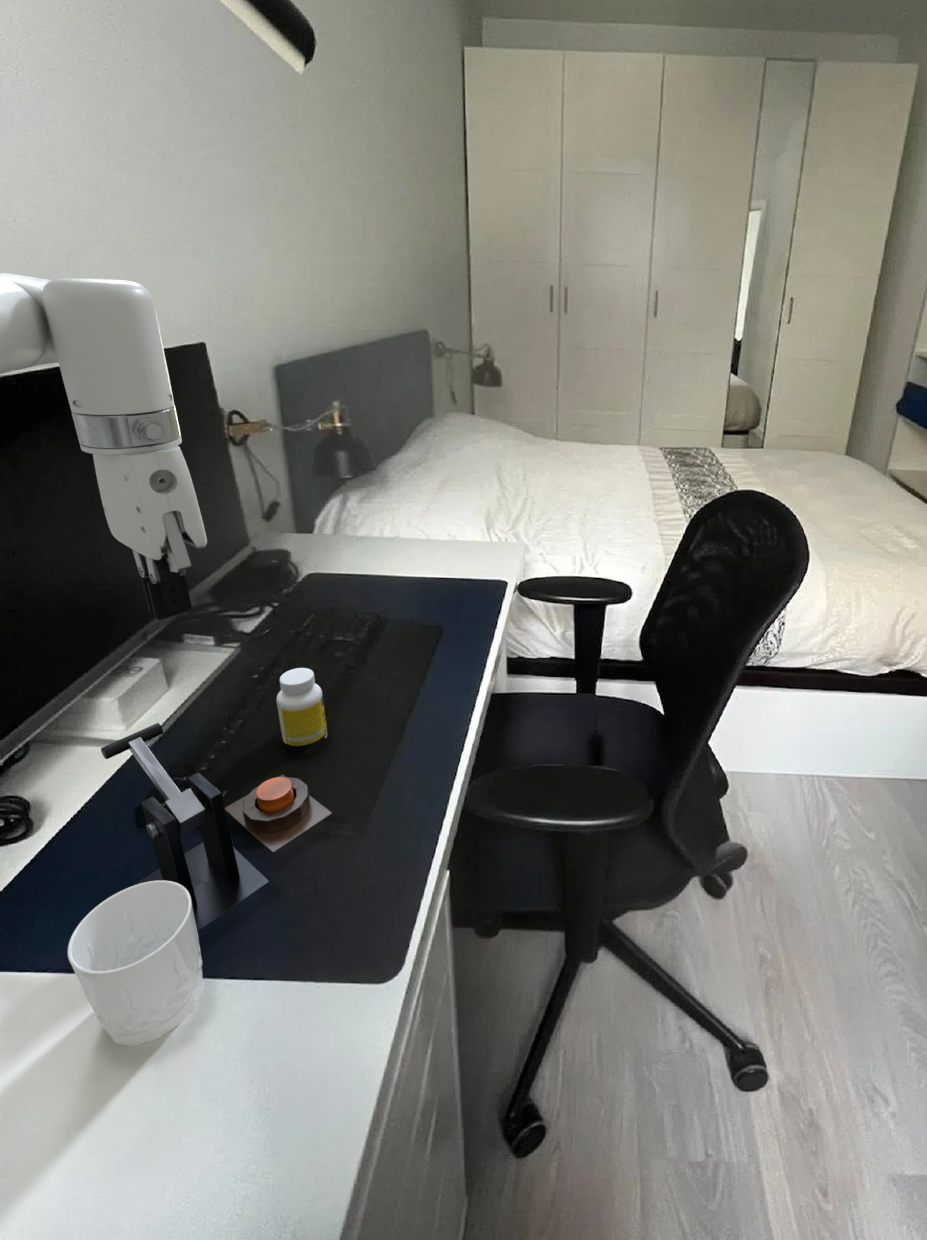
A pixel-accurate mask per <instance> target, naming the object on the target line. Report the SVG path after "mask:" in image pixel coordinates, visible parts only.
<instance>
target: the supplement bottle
mask: <svg viewBox="0 0 927 1240" xmlns="http://www.w3.org/2000/svg"><path fill="white" fill-rule="evenodd" d="M279 687H280V691H279V692H278V693H277V695H276V699H275V700H276V706H277V712H278V713H277V714H278V721H279V725H280V732H281V738H282V742H283V743H284V744H285V745H287V746H290V747H304V746H308V745H312V744H315V743H316V742H318V741H320V740H321V739H323V738H324V739H327V737H328V726H327V719H326V711H325V704H324V696H323V690H322V688H321V686H320V685H318V684H317V683H316V679H315V673H314V671H313V670H312V669H311V668H307V667H296V668H292V669H289V670H287V671H285V672H284V673H282V674H281V676H280V677H279Z"/></svg>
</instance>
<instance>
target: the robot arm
mask: <svg viewBox="0 0 927 1240" xmlns="http://www.w3.org/2000/svg"><path fill="white" fill-rule="evenodd" d="M162 339H163V338H162V335H161V330H160V324H159V320H158V315H157V309H156V305H155V302H154V298H153V296H152V294H151V293H150V291H149V290H148V289H147V288H146V287H145V286H144V285H142V284H141V283H138V282H135V281H131V280H127V279H125V280H124V279H110V278H81V277H80V278H79V277H75V278H74V277H73V278H71V277H70V278H68V277H67V278H66V277H65V278H55V279H47V278H40V277H33V276H27V275H22V274H15V273H8V272H0V375H2V374H6V373H9V372H10V373H11V372H14V371H19V370H23V369H24V370H25V369H28V368H29V369H30V368H33V367H36V366H43V365H48V364H49V365H50V364H56V363H57V364H58V366H59V370H60V373H61V377H62V382H63V385H64V389H65V392H66V396H67V400H68V404H69V407H70V411H71V417H72V420H73V423H74V428H75V432H76V435H77V439H78V443H79V446H80V450H81V451H82V452H84V453H87V454H92V458H93V466H94V469H95V475H96V481H97V485H98V490H99V495H100V500H101V504H102V508H103V512H104V517H105V519H106V522H107V525H108V528H109V530H110V533H111V535H112V537H114V539H116V540H117V541H118V542H119V543H121V544H123V545H124V546H126V547H128V548H130V549H131V550H132V554H133V557H134V559H135V564H136V567H137V570H138V573H139V575H140V576H141V577H142V578H141V583H142V587H143V591H144V596H145V600H146V604H147V608H148V612H149V614H150V615H151V616H152V617H154V618H155V619H157V620H159V621H163V620H165V619H169V618H171V617H174V616H177V615H180V614H183V613H186V612H189V611H191V609H192V606H193V605H192V602H191V596H190V591H189V587H188V582H187V578H186V575H187V570H190V569H192V563H191V559H190V556H189V553H188V550H187V546H186V544H188V545H190V546H192V547H193V548H195V549H198V550H200V549H204V548H205V547H206V546H207V544H208V539H207V533H206V529H205V525H204V521H203V516H202V513H201V510H200V505H199V501H198V497H197V494H196V490H195V486H194V483H193V480H192V476H191V473H190V470H189V467H188V465H187V462H186V459H185V457H184V454H183V451H182V450H181V447H180V445H181V444H182V442H183V439H182V435H181V430H180V429H181V428H180V424H179V420H178V414H177V410H176V409H177V408H176V405H175V401H174V395H173V390H172V385H171V379H170V374H169V369H168V365H167V359H166V355H165V349H164V345H163V340H162ZM185 543H186V544H185Z"/></svg>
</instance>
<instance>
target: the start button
mask: <svg viewBox="0 0 927 1240" xmlns="http://www.w3.org/2000/svg"><path fill="white" fill-rule="evenodd" d="M258 786H259V787H258ZM258 786H257V787H258V788H257V791H256V797H257V802H258V807H259V809H260V810H261V811H263V812H270V813H271V812H274V811H278V810H282V809H284V808H285V807H287V806H289V805H290V804H291V803H292V801H293V799H294V792H293V786H292V782H291V780H290V779H288V778H285V777H279V776H276V777H271V778H269V779H267V780H265V781H263V782H261V784H259V785H258Z"/></svg>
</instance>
